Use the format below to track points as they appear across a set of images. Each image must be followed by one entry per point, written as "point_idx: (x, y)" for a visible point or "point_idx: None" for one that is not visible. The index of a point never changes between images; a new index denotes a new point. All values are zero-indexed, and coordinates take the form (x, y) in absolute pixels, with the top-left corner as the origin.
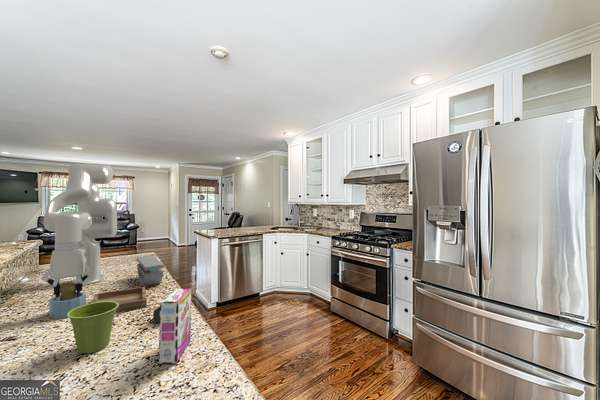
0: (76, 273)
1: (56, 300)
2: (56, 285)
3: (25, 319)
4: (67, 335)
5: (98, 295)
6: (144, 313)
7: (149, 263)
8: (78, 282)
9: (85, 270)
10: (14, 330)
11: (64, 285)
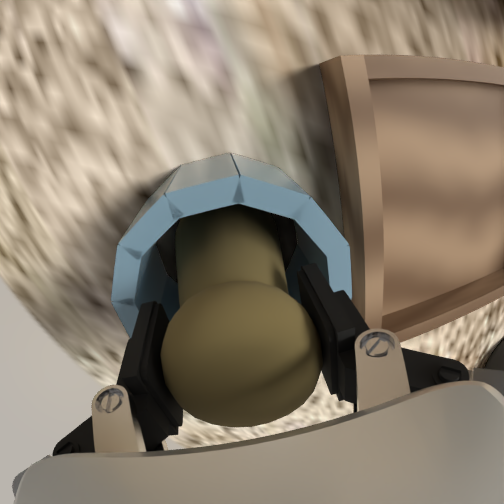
0: None
1: (141, 272)
2: (165, 442)
3: (55, 275)
4: (310, 422)
5: (364, 80)
6: (490, 317)
7: None
8: (354, 405)
9: (493, 390)
10: (106, 370)
11: (229, 424)
